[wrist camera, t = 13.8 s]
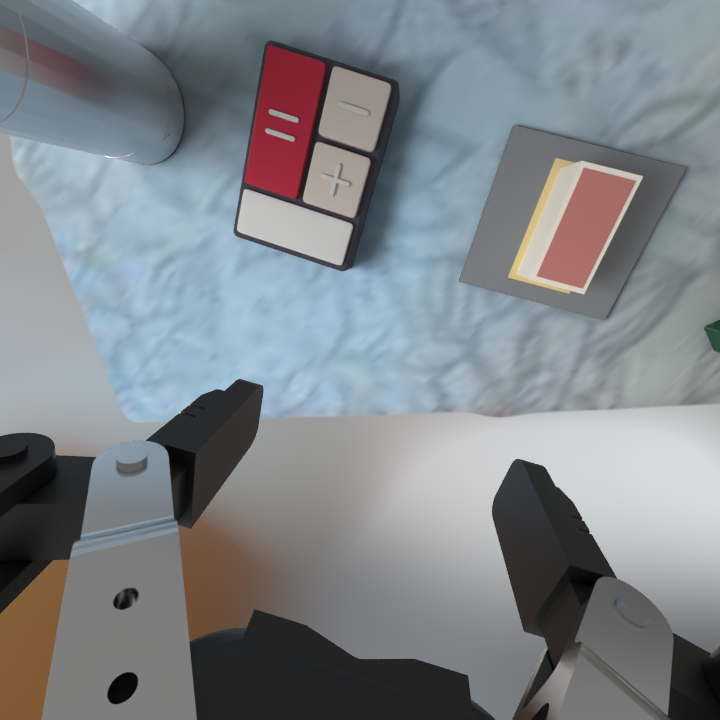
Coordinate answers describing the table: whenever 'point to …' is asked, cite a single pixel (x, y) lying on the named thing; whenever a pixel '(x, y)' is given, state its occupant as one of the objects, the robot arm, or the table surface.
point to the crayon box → (714, 335)
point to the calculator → (313, 155)
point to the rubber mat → (526, 202)
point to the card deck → (577, 225)
